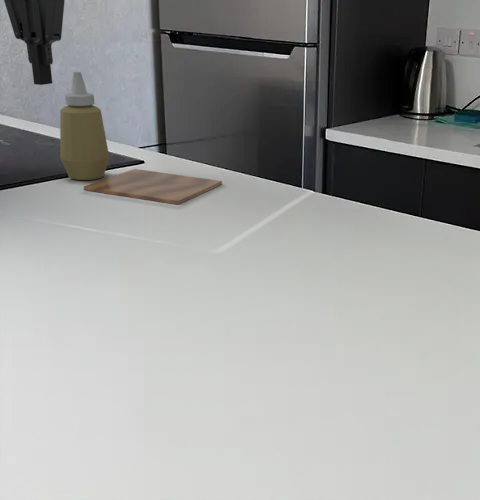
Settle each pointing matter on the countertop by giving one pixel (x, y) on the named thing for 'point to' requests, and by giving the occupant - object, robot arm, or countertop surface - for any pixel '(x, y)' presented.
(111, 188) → the wooden board
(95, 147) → the squeeze bottle
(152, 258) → the countertop surface
